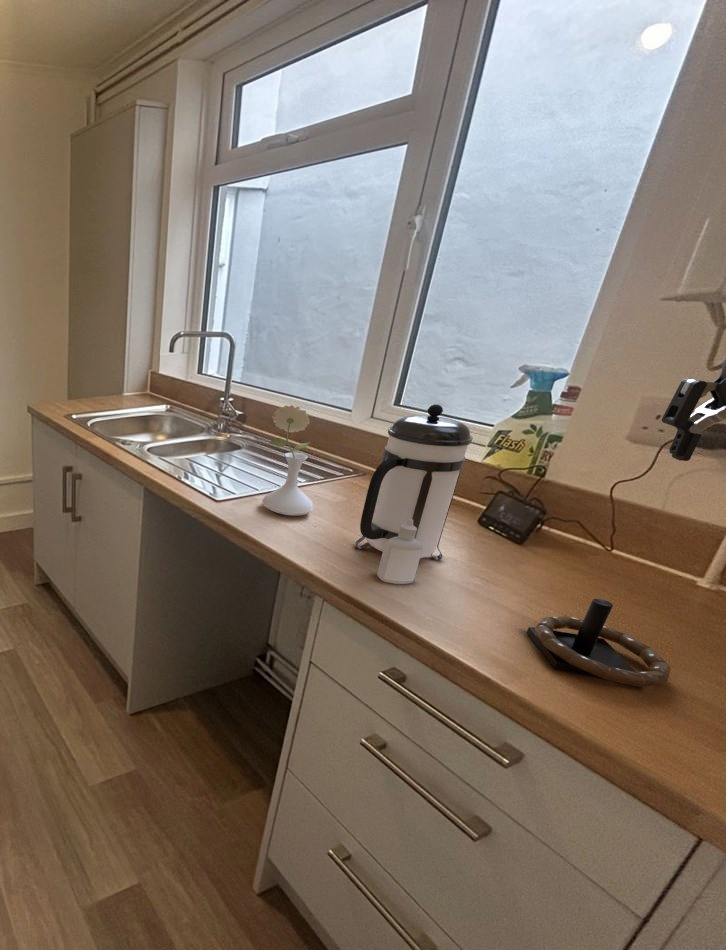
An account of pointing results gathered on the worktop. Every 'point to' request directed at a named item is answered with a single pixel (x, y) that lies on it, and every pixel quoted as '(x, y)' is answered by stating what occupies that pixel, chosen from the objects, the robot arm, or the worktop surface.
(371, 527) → the coffee press
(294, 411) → the flower in vase
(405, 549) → the eye dropper bottle
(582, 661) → the ring
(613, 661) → the stand
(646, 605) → the worktop surface
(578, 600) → the worktop surface
